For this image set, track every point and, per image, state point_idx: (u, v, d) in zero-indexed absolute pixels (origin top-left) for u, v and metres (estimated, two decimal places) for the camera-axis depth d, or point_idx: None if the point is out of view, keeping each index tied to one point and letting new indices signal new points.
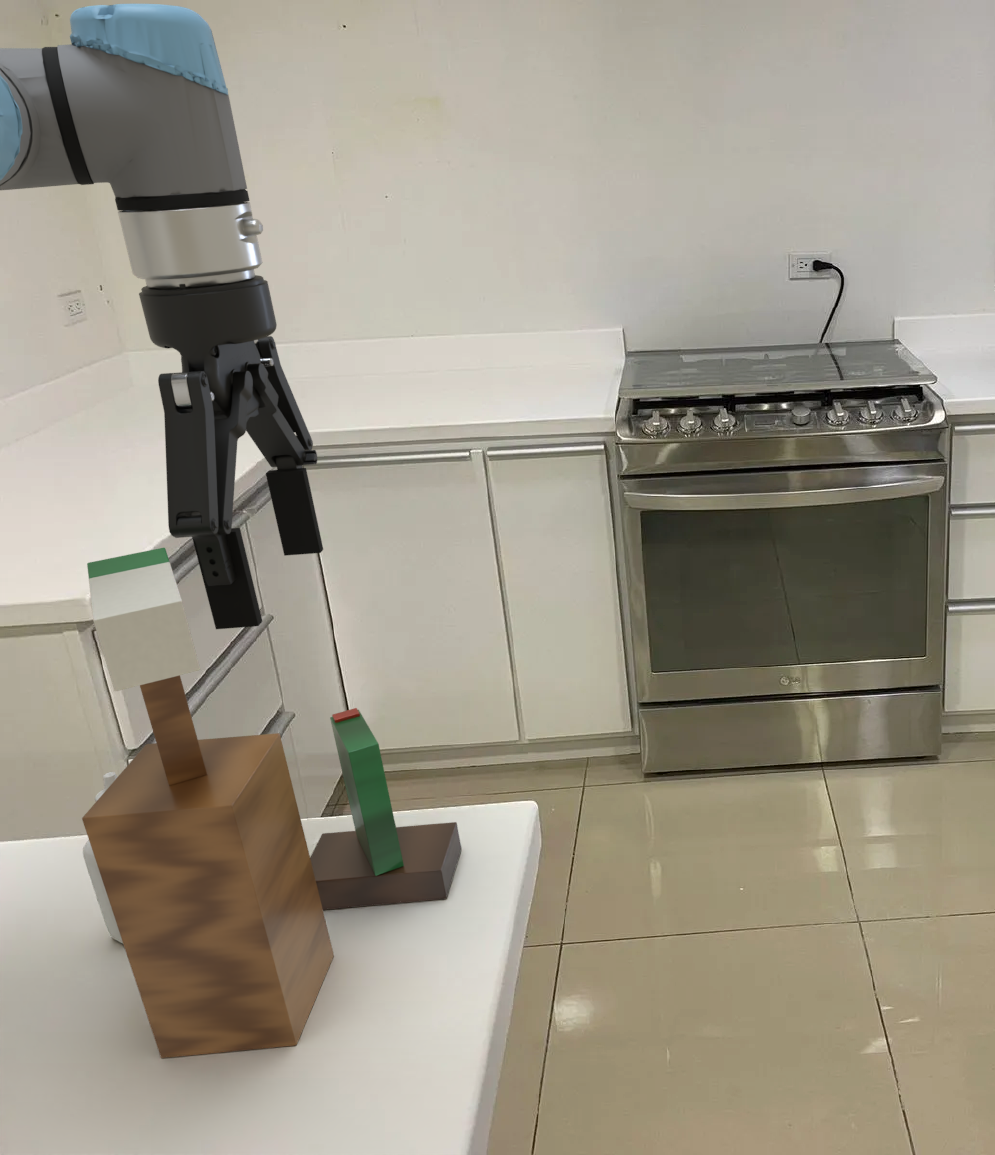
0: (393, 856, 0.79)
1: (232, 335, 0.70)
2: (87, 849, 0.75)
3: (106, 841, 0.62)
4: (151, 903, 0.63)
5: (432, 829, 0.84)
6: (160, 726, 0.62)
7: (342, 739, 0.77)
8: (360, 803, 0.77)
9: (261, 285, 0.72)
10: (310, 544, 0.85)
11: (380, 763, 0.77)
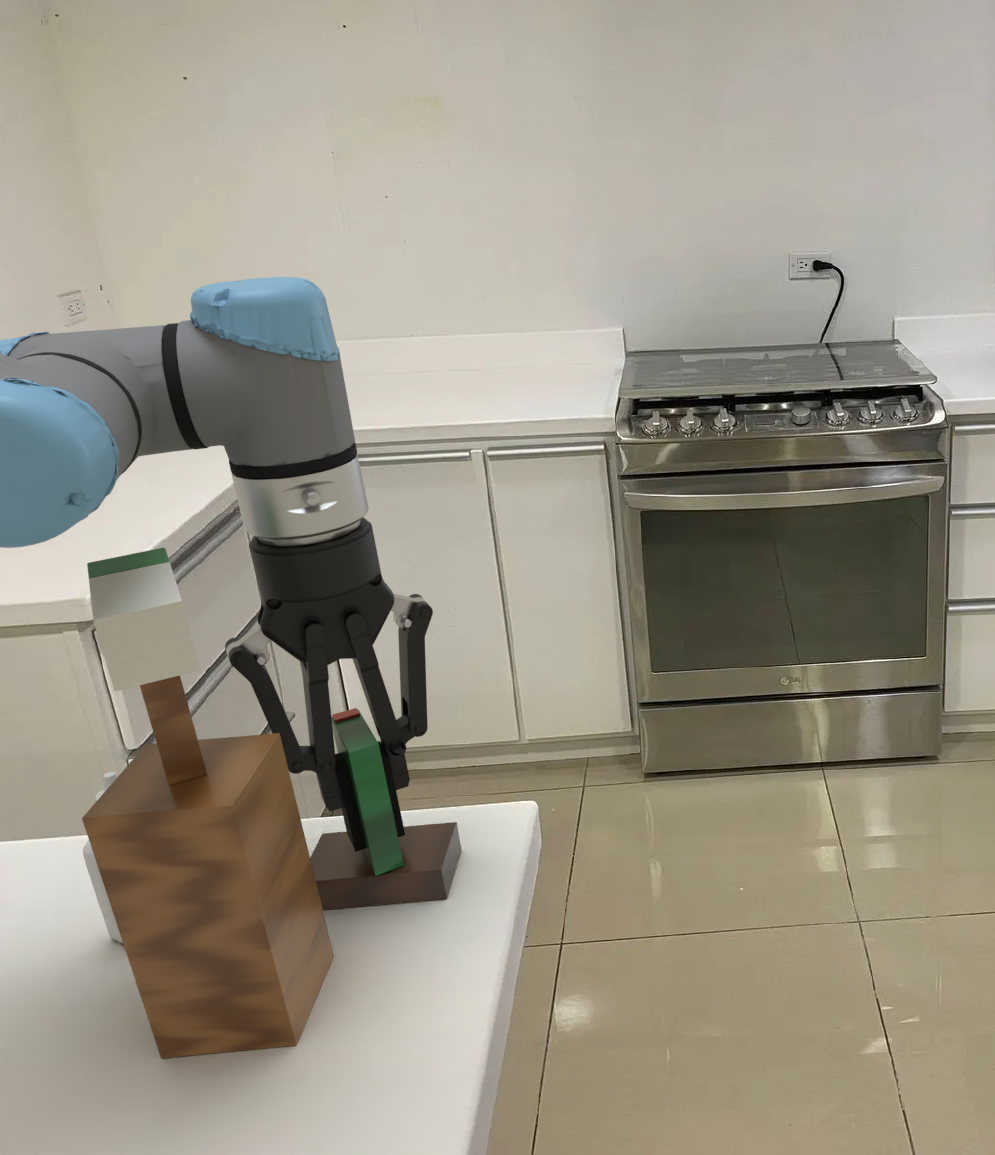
0: (393, 856, 0.79)
1: (277, 595, 0.70)
2: (87, 849, 0.75)
3: (106, 841, 0.62)
4: (151, 903, 0.63)
5: (432, 829, 0.84)
6: (160, 726, 0.62)
7: (342, 739, 0.77)
8: (360, 803, 0.77)
9: (316, 553, 0.69)
10: None
11: (380, 763, 0.77)
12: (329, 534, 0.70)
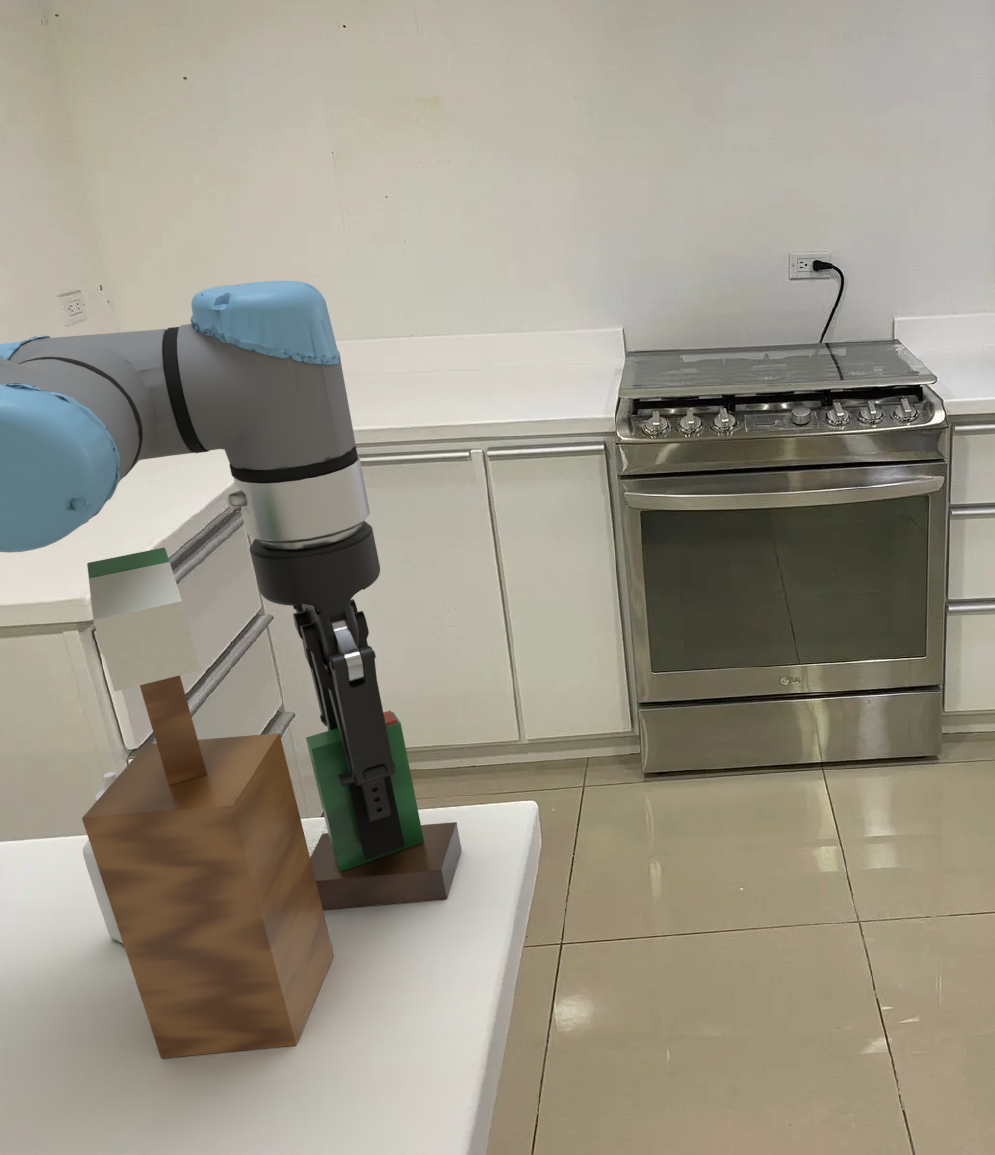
0: (335, 855, 0.80)
1: None
2: (87, 849, 0.75)
3: (106, 841, 0.62)
4: (151, 903, 0.63)
5: (432, 829, 0.84)
6: (160, 726, 0.62)
7: (337, 728, 0.78)
8: (317, 787, 0.79)
9: None
10: None
11: (315, 767, 0.76)
12: (262, 540, 0.70)
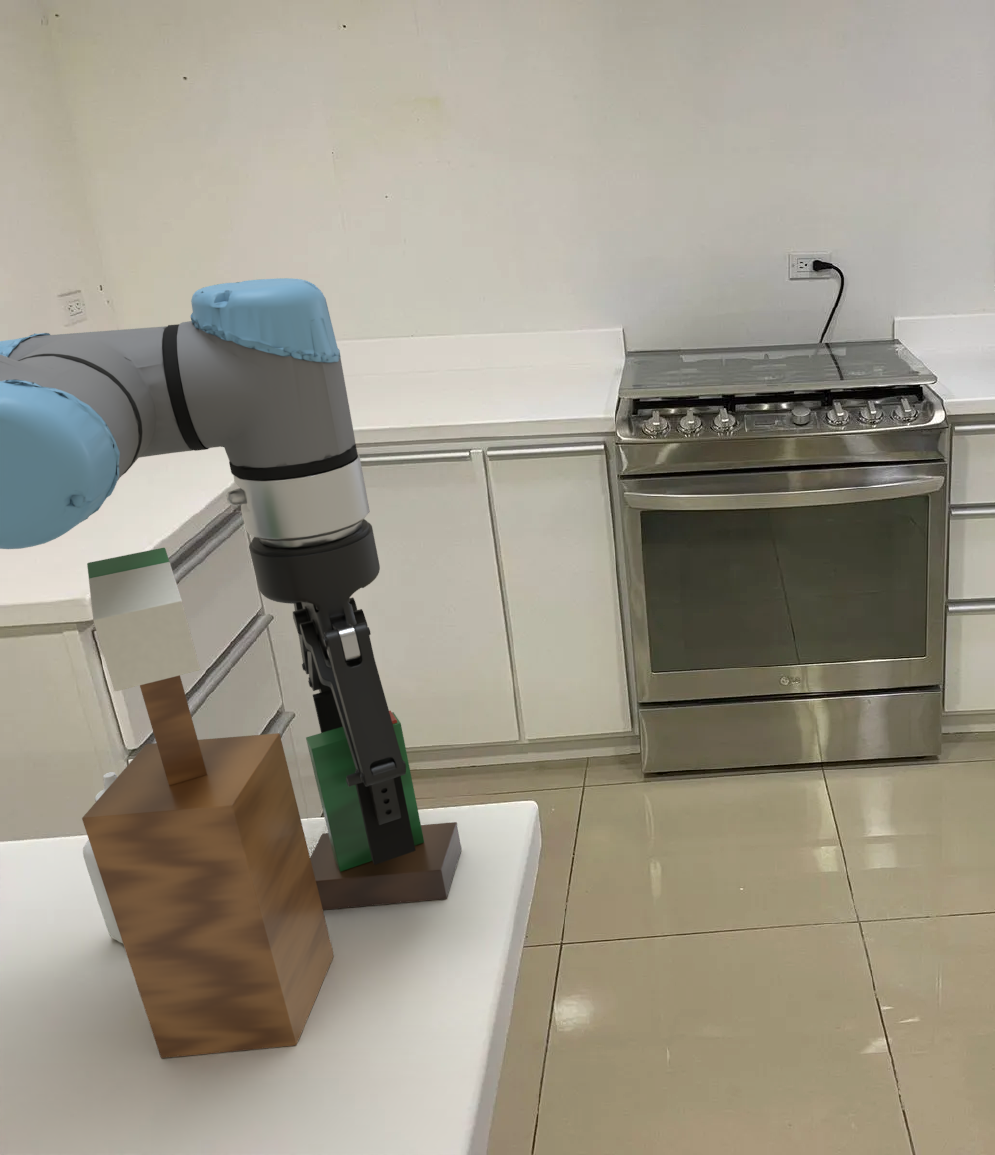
0: (335, 855, 0.80)
1: None
2: (87, 849, 0.75)
3: (106, 841, 0.62)
4: (151, 903, 0.63)
5: (432, 829, 0.84)
6: (160, 726, 0.62)
7: (337, 728, 0.78)
8: (317, 787, 0.79)
9: (249, 548, 0.71)
10: None
11: (315, 767, 0.76)
12: (261, 538, 0.70)
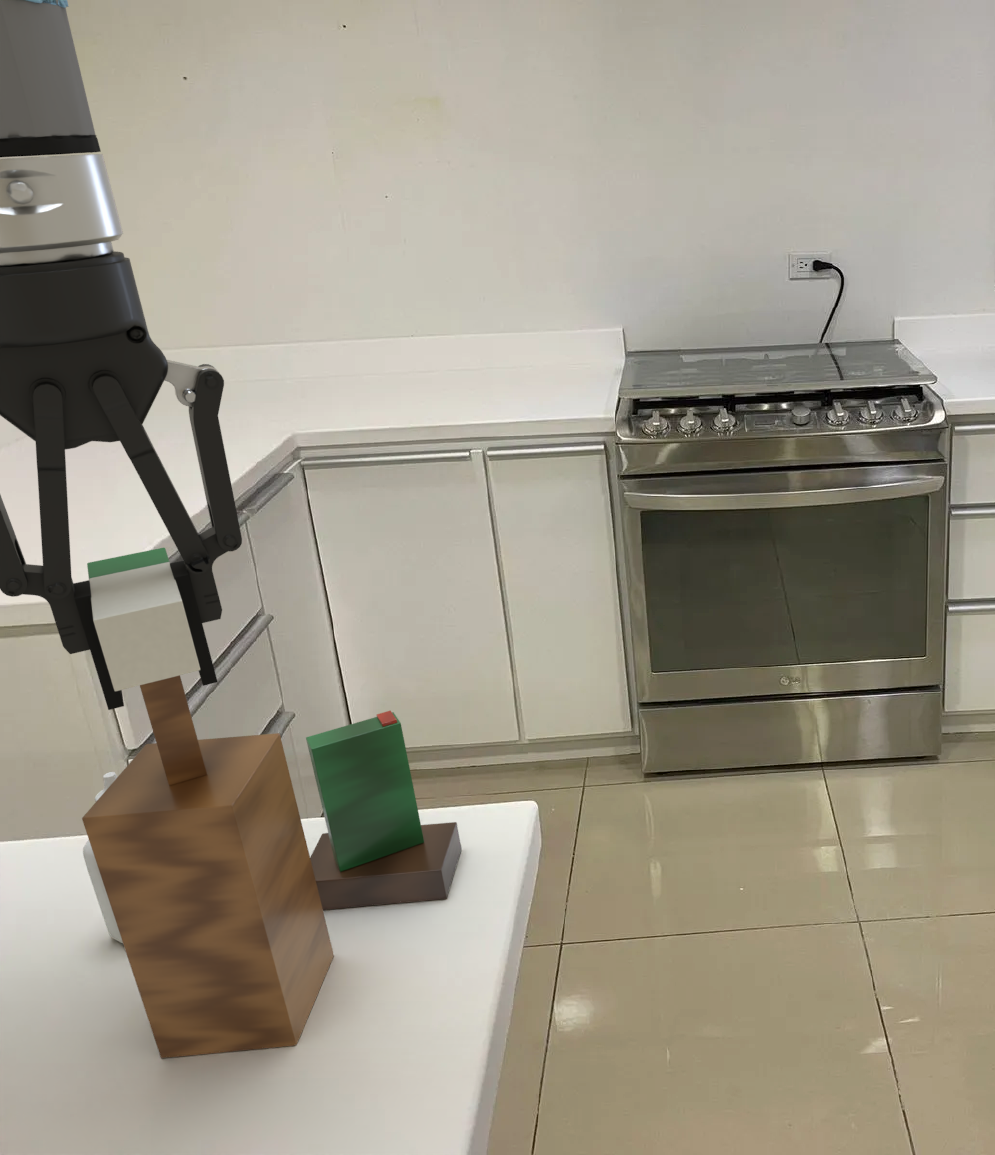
0: (335, 855, 0.80)
1: None
2: (87, 849, 0.75)
3: (106, 841, 0.62)
4: (151, 903, 0.63)
5: (432, 829, 0.84)
6: (160, 726, 0.62)
7: (337, 728, 0.78)
8: (317, 787, 0.79)
9: (32, 274, 0.51)
10: None
11: (315, 767, 0.76)
12: (54, 253, 0.52)
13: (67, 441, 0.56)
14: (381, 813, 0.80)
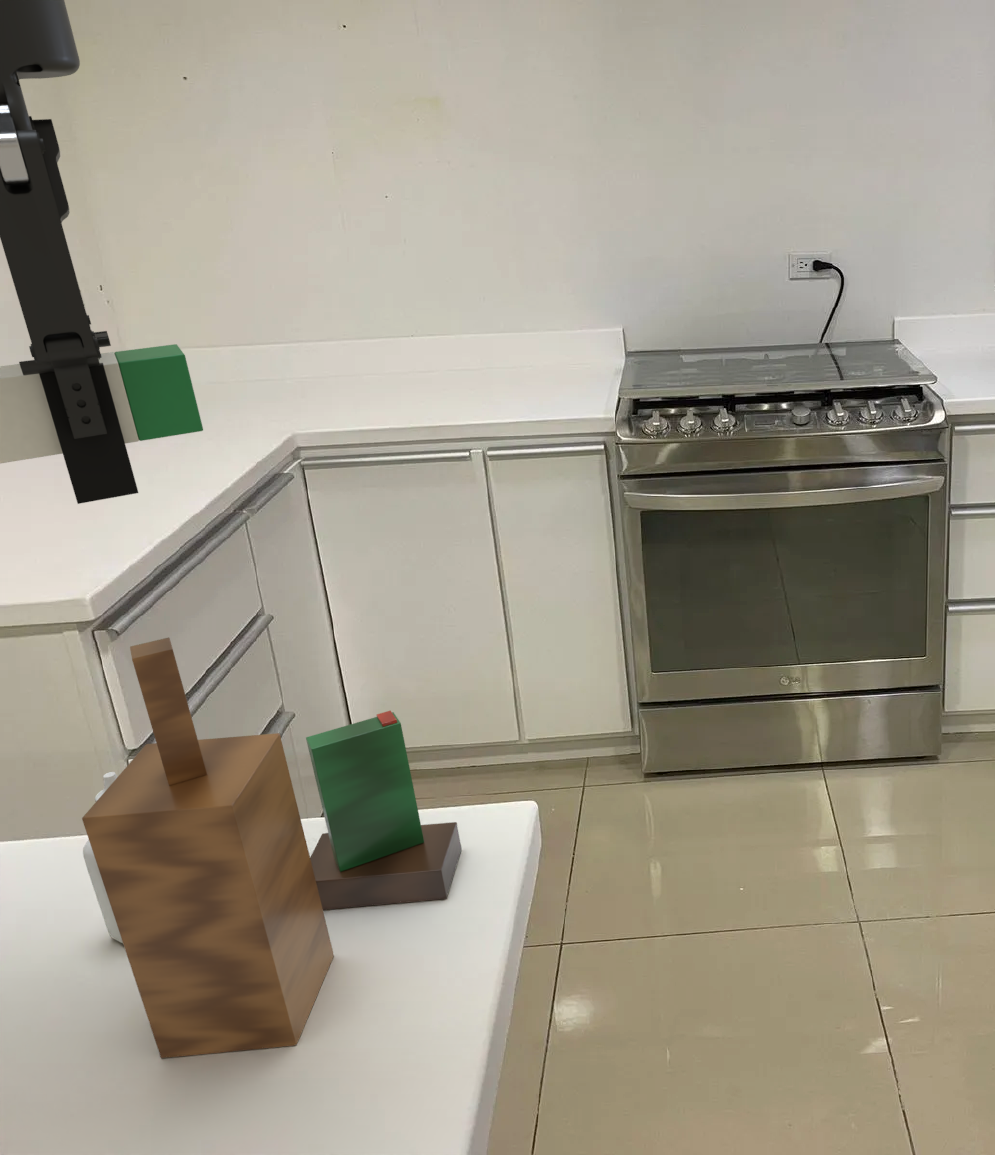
0: (335, 855, 0.80)
1: None
2: (87, 849, 0.75)
3: (106, 841, 0.62)
4: (151, 903, 0.63)
5: (432, 829, 0.84)
6: (160, 726, 0.62)
7: (337, 728, 0.78)
8: (317, 787, 0.79)
9: None
10: None
11: (315, 767, 0.76)
12: None
13: None
14: (381, 813, 0.80)
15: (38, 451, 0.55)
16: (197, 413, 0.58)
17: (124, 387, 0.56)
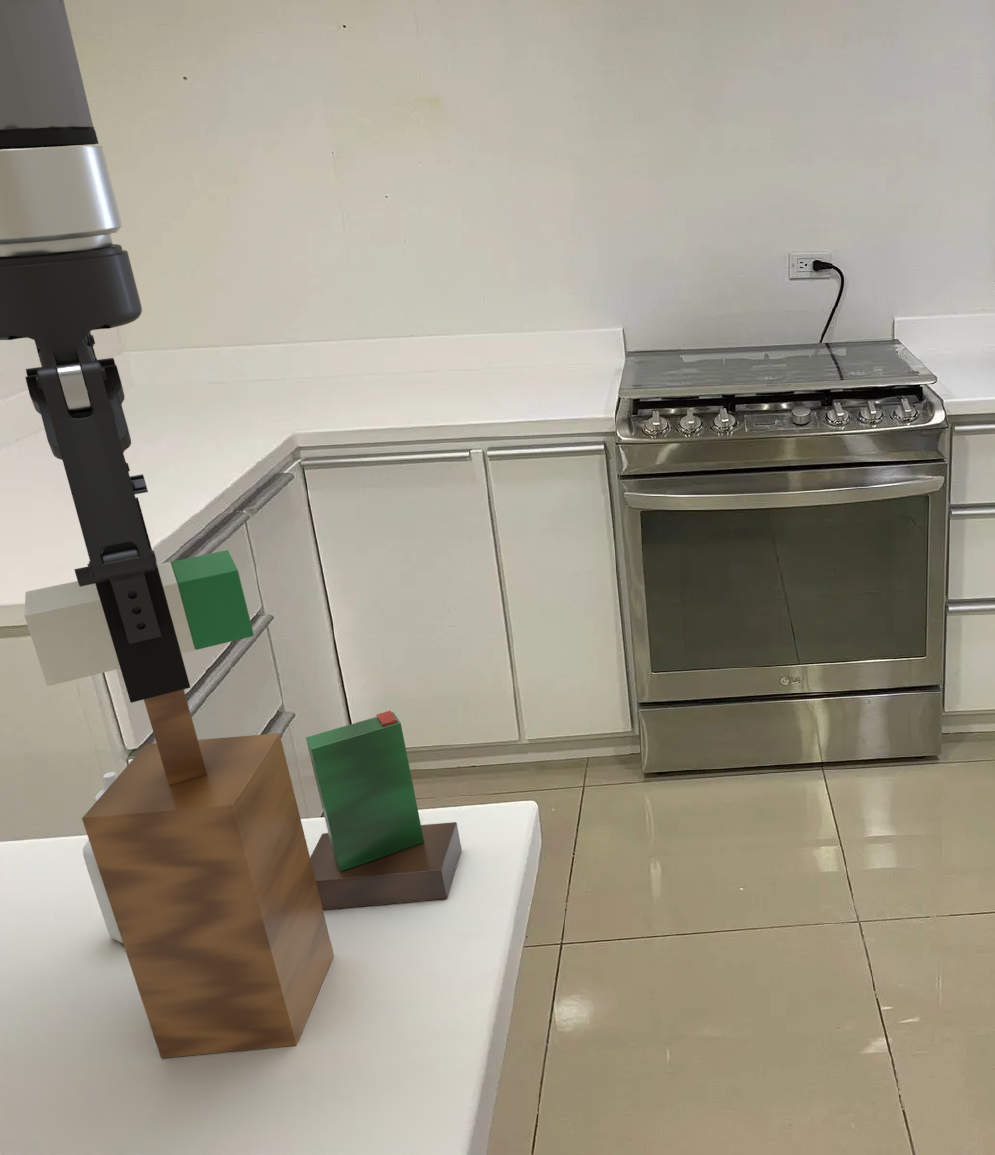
0: (335, 855, 0.80)
1: None
2: (87, 849, 0.75)
3: (106, 841, 0.62)
4: (151, 903, 0.63)
5: (432, 829, 0.84)
6: (160, 726, 0.62)
7: (337, 728, 0.78)
8: (317, 787, 0.79)
9: None
10: None
11: (315, 767, 0.76)
12: None
13: None
14: (381, 813, 0.80)
15: (104, 667, 0.59)
16: (248, 621, 0.62)
17: (182, 604, 0.60)
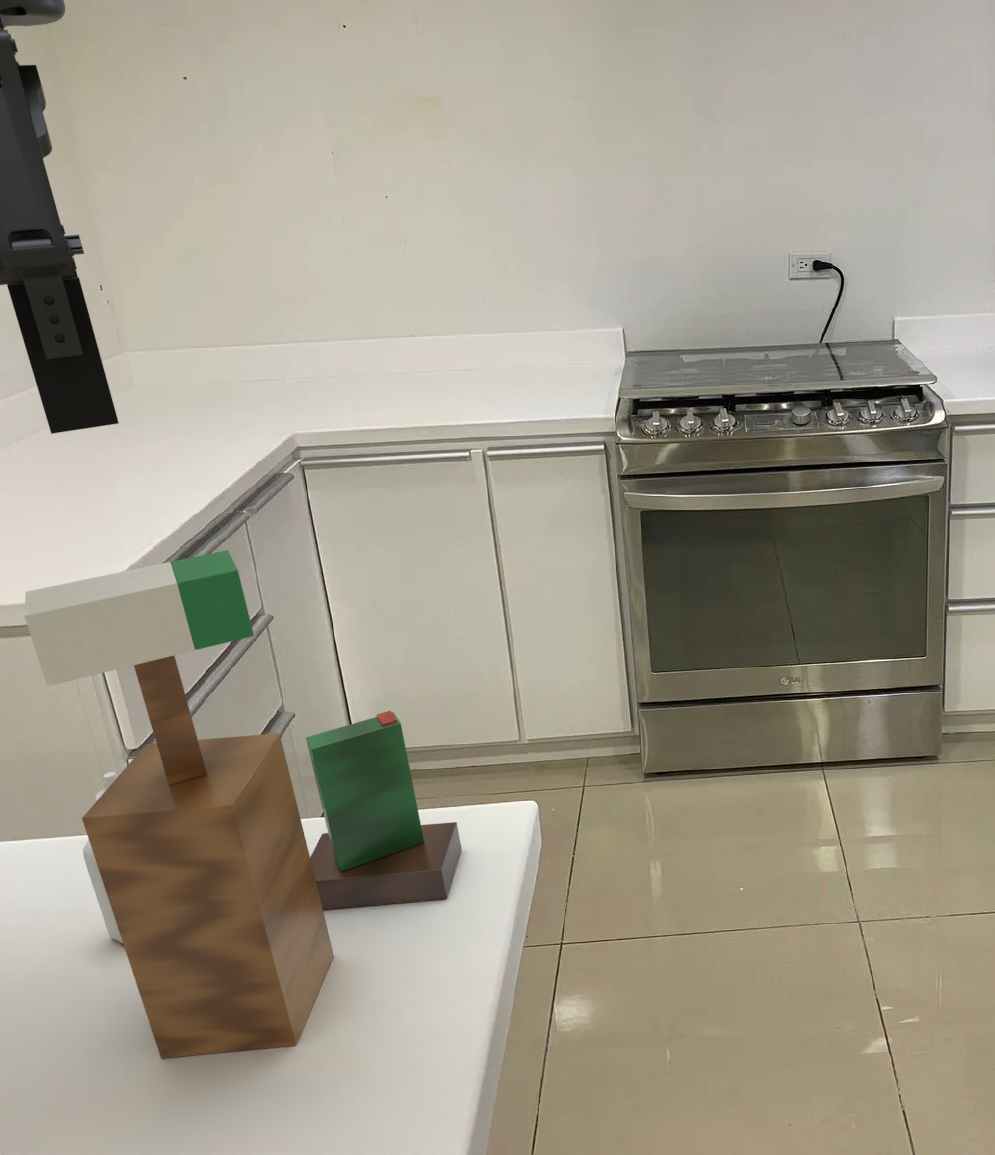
0: (335, 855, 0.80)
1: None
2: (87, 849, 0.75)
3: (106, 841, 0.62)
4: (151, 903, 0.63)
5: (432, 829, 0.84)
6: (160, 726, 0.62)
7: (337, 728, 0.78)
8: (317, 787, 0.79)
9: None
10: None
11: (315, 767, 0.76)
12: None
13: None
14: (381, 813, 0.80)
15: (104, 667, 0.59)
16: (248, 621, 0.62)
17: (182, 604, 0.60)
